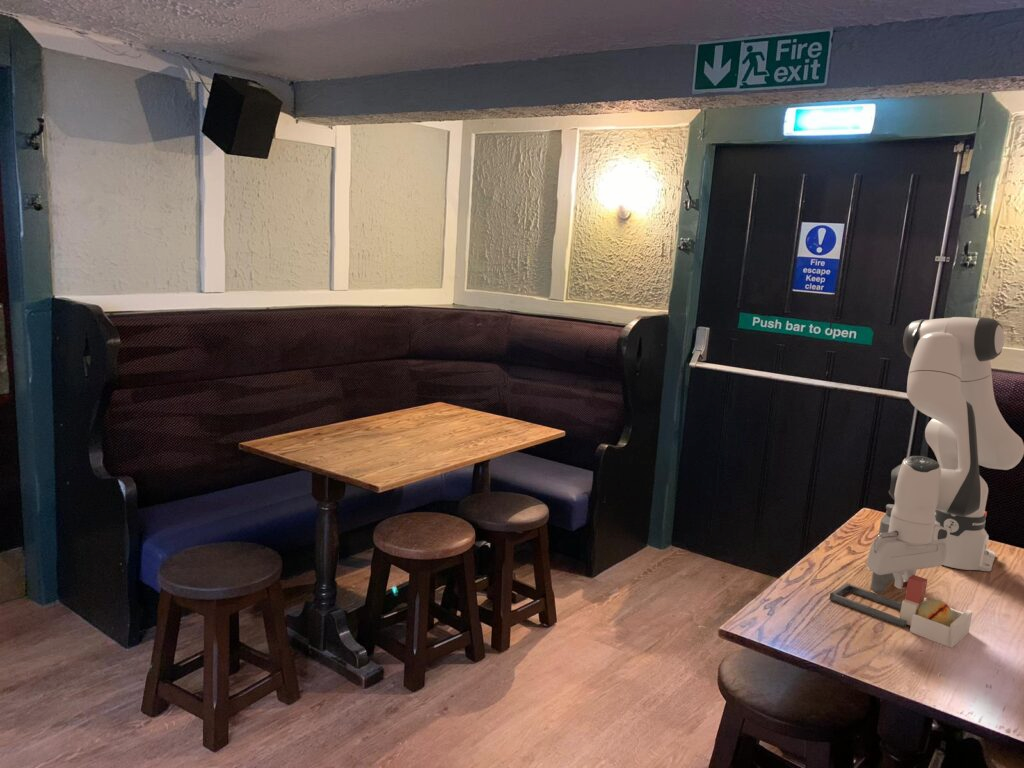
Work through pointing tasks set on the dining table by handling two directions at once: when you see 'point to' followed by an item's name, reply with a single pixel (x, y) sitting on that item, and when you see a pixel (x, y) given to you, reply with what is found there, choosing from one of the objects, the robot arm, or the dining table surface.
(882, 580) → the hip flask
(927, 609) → the ball
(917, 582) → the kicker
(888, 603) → the dark grey rectangular frame
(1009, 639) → the dining table surface
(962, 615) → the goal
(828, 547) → the dining table surface
